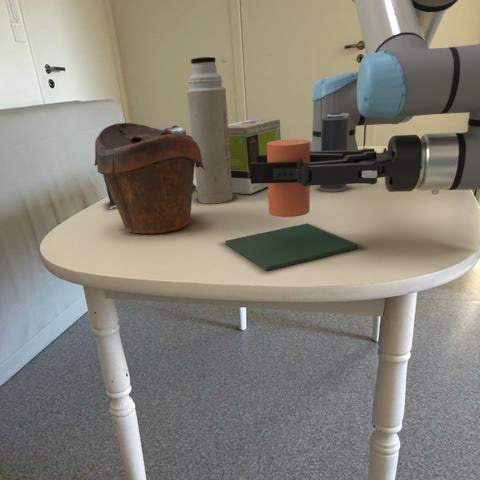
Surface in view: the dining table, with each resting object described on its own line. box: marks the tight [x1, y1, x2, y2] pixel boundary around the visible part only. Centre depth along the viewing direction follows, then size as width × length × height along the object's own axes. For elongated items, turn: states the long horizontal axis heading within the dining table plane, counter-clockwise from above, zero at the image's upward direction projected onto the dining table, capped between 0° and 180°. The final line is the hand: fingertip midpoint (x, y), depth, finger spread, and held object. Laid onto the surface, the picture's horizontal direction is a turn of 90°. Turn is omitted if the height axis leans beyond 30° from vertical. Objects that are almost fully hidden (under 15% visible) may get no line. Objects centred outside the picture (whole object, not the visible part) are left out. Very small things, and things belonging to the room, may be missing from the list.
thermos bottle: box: [186, 56, 234, 204], centre depth 95 cm, size 8×8×28 cm
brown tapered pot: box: [93, 122, 206, 235], centre depth 82 cm, size 18×20×18 cm
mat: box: [225, 223, 359, 272], centre depth 71 cm, size 16×14×1 cm
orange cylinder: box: [267, 138, 311, 218], centre depth 66 cm, size 6×6×10 cm
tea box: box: [228, 119, 282, 195], centre depth 107 cm, size 15×10×15 cm, turn 145°
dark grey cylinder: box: [318, 117, 350, 193], centre depth 100 cm, size 6×6×15 cm
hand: (254, 168), depth 66 cm, fingers closed on orange cylinder, 6 cm apart
